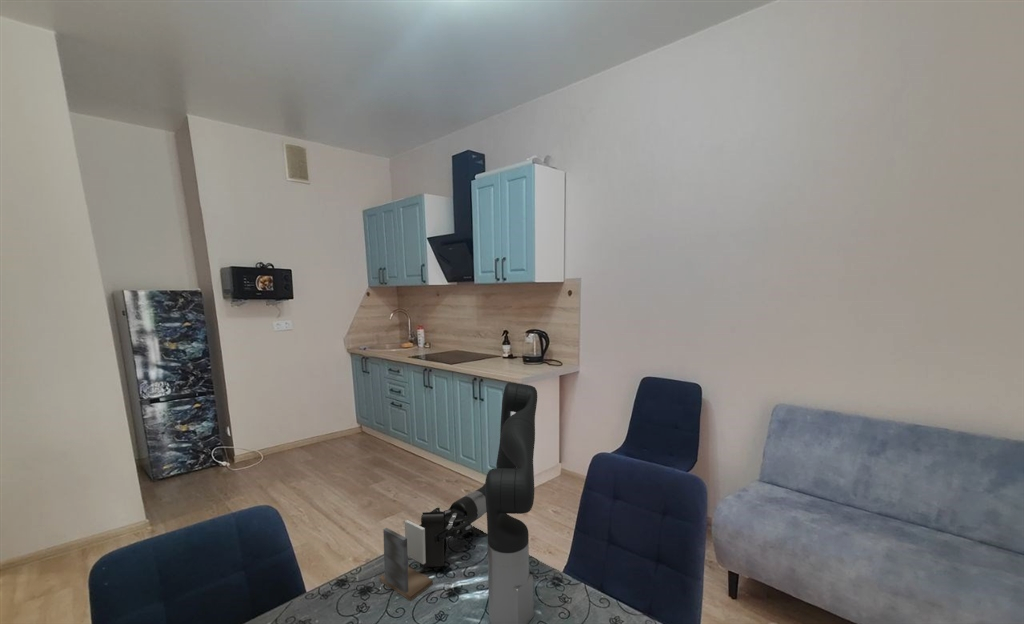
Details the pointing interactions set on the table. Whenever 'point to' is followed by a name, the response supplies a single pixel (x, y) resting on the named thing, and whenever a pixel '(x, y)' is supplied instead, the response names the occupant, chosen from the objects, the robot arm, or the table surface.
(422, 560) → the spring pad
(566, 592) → the table surface
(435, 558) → the phone stand
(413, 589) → the grey bookend
